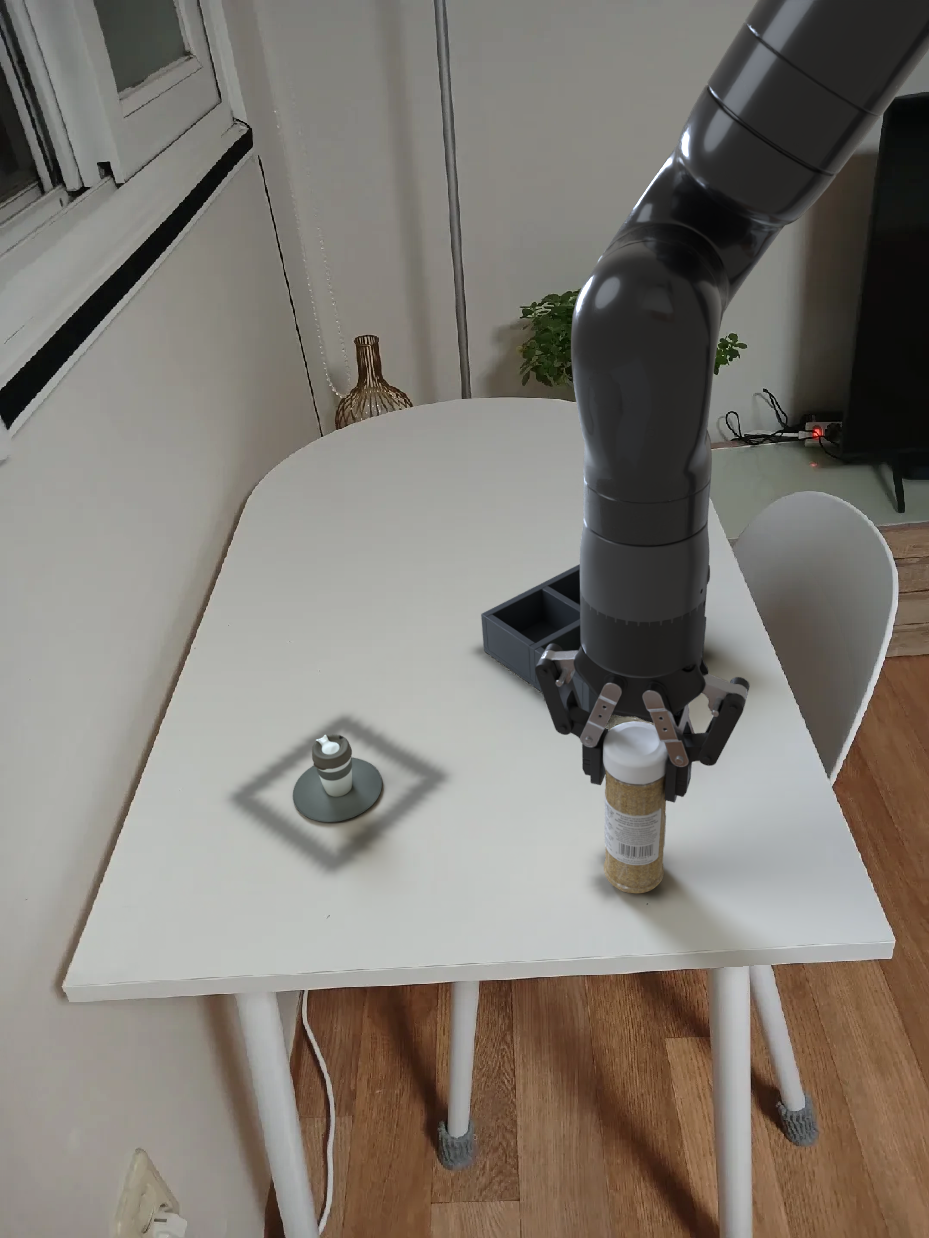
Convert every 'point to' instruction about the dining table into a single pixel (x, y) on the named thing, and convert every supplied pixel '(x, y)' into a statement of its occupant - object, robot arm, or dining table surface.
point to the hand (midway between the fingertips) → (636, 783)
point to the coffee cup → (336, 782)
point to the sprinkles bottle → (634, 806)
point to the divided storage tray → (539, 629)
